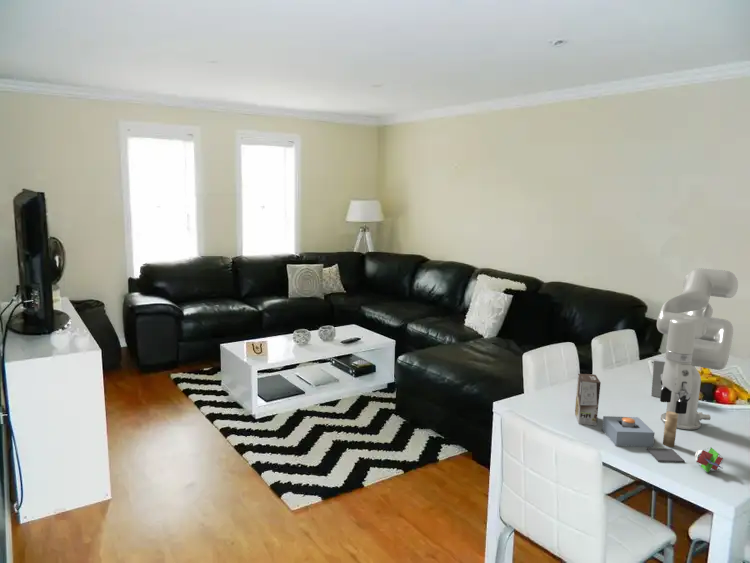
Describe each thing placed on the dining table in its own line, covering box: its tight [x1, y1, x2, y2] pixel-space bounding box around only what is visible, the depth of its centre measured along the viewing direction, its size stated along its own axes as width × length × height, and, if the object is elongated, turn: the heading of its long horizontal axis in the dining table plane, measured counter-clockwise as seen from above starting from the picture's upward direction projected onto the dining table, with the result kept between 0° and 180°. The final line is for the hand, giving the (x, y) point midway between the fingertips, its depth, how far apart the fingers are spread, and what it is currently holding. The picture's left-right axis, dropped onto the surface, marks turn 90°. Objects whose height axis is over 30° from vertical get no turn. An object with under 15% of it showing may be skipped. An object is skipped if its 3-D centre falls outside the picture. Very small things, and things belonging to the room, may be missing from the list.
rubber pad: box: [645, 447, 686, 464], centre depth 172 cm, size 8×8×1 cm
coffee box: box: [574, 373, 601, 427], centre depth 197 cm, size 9×6×16 cm
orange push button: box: [621, 416, 635, 428], centre depth 183 cm, size 4×4×4 cm
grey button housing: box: [601, 415, 655, 448], centre depth 184 cm, size 12×12×5 cm
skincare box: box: [650, 355, 666, 398], centre depth 221 cm, size 8×7×16 cm
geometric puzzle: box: [694, 447, 724, 474], centre depth 164 cm, size 7×7×8 cm
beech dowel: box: [662, 410, 678, 448], centre depth 179 cm, size 3×3×11 cm
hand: (672, 407), depth 177 cm, fingers open, 9 cm apart
